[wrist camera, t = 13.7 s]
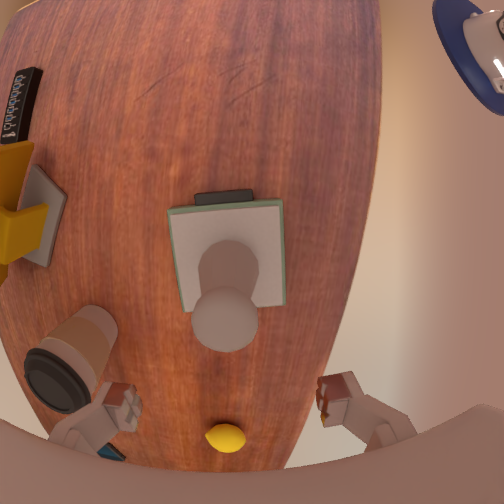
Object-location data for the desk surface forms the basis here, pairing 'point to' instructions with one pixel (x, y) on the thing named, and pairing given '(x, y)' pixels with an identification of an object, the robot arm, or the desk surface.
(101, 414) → the robot arm
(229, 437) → the lemon
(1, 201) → the toy computer monitor
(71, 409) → the coffee cup
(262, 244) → the scale
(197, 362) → the desk surface
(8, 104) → the multiport hub
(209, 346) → the salt shaker
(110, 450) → the smartphone
